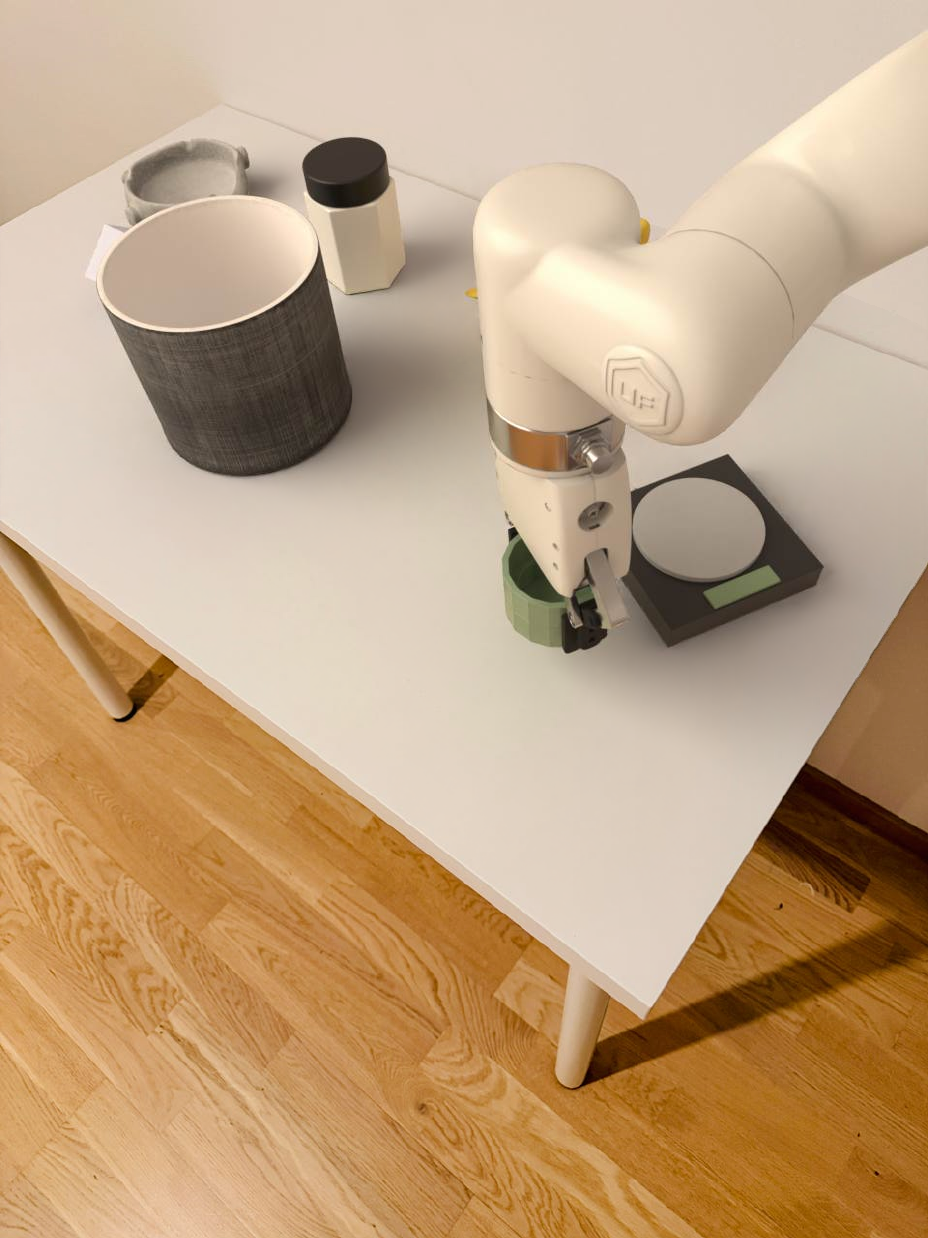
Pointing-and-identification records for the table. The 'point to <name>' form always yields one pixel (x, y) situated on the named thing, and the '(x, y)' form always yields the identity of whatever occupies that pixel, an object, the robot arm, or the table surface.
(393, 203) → the jar
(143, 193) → the dish
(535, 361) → the robot arm
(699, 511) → the scale
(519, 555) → the green cup
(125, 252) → the planter
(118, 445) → the table surface
